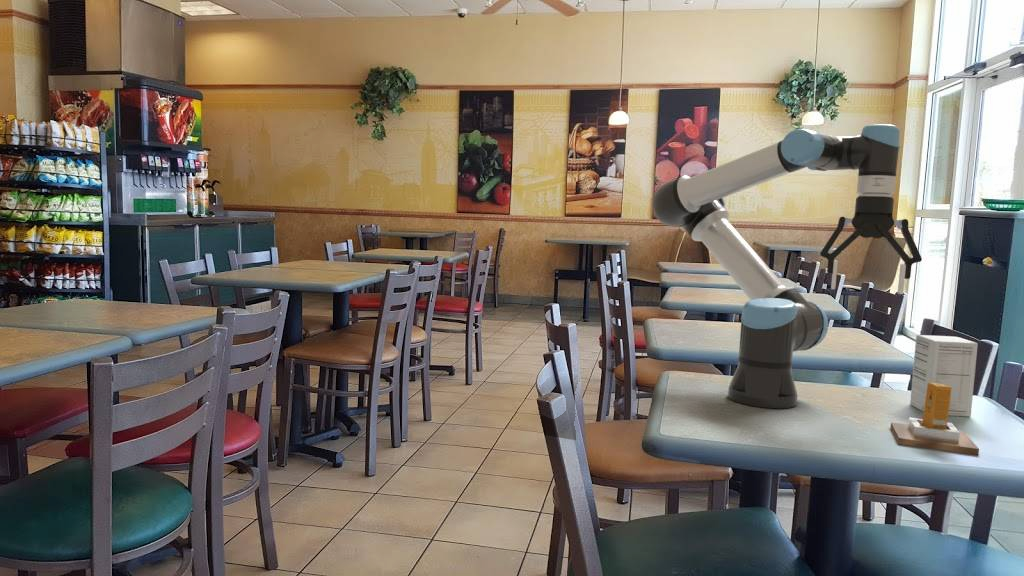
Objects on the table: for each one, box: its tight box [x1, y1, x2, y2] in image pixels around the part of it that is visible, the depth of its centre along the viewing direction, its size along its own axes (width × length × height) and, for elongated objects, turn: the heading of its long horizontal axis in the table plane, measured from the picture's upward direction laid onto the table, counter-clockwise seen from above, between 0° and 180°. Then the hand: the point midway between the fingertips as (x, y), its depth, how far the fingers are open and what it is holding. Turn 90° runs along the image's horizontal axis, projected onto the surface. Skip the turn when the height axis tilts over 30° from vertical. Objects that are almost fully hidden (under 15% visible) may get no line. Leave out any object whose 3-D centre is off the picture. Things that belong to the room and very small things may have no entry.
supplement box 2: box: [922, 383, 952, 429], centre depth 136 cm, size 3×3×10 cm
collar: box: [908, 417, 960, 443], centre depth 137 cm, size 7×7×2 cm
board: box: [890, 421, 980, 456], centre depth 137 cm, size 13×12×1 cm
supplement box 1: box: [909, 334, 979, 417], centre depth 161 cm, size 10×9×17 cm
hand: (866, 291), depth 158 cm, fingers open, 13 cm apart
